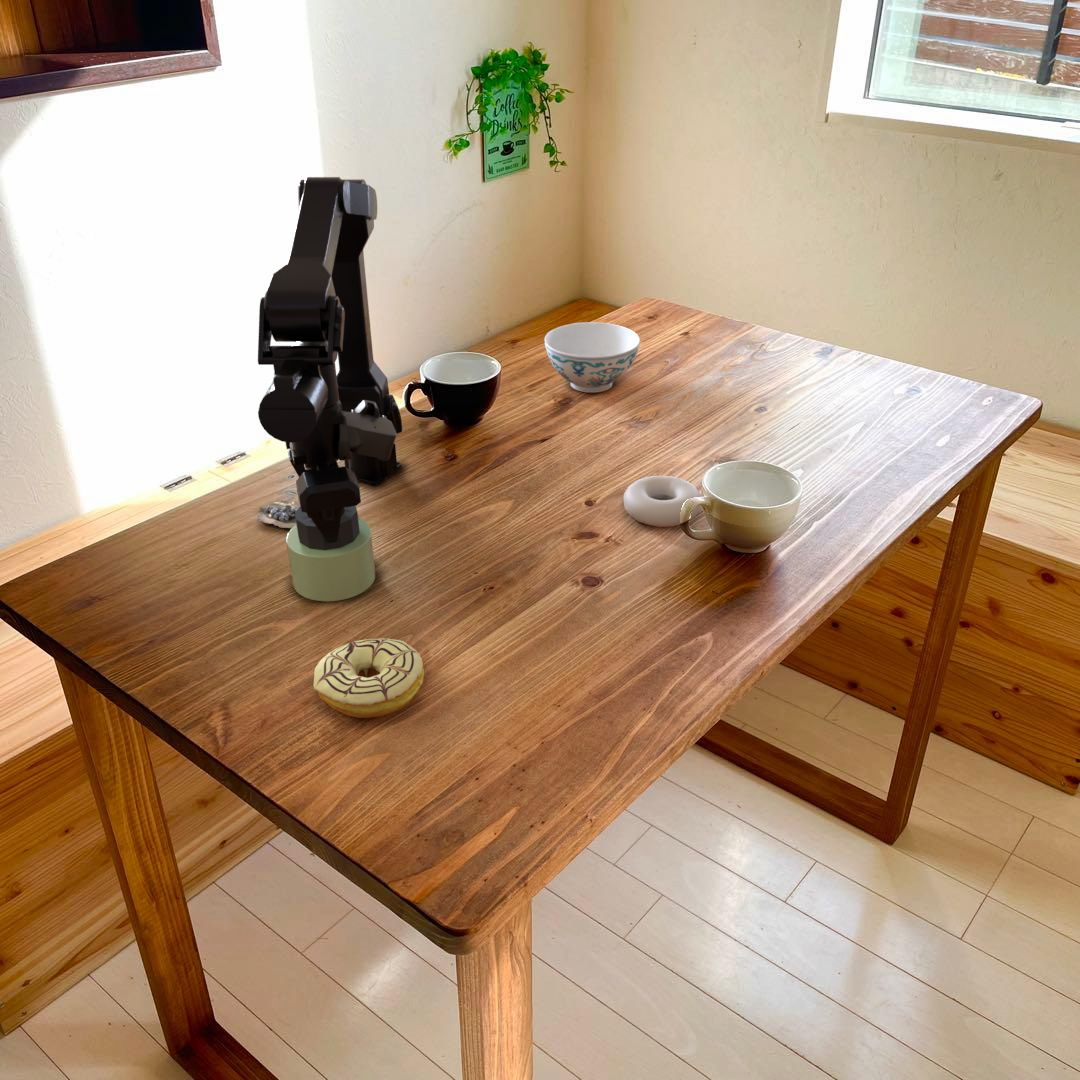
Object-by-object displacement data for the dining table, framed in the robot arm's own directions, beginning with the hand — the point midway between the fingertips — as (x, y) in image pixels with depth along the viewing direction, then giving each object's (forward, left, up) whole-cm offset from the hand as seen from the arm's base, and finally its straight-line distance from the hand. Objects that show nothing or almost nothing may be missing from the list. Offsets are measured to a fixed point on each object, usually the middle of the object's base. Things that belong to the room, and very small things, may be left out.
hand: (327, 526), depth 126 cm
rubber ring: (0, 0, -1) cm, 1 cm away
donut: (+28, +32, -7) cm, 43 cm away
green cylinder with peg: (0, 0, -7) cm, 7 cm away
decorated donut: (+16, -15, -7) cm, 23 cm away
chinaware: (+2, +65, -7) cm, 65 cm away
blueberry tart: (-14, +9, -7) cm, 18 cm away
